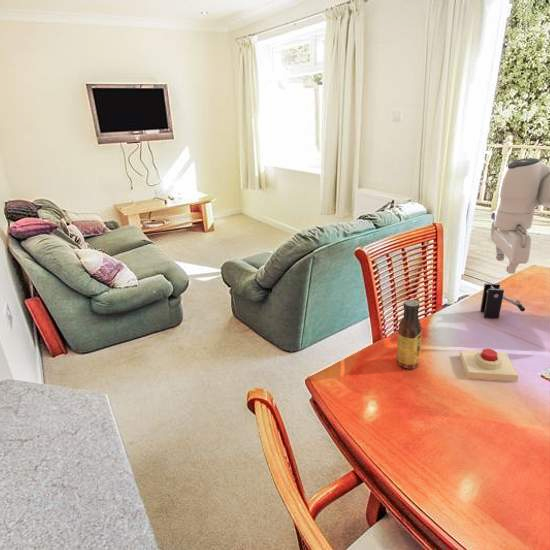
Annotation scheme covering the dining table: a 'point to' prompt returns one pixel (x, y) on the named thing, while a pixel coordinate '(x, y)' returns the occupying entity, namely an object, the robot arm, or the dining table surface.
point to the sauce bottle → (409, 336)
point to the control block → (488, 366)
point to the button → (489, 355)
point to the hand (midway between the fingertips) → (504, 266)
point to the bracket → (491, 301)
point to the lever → (516, 303)
